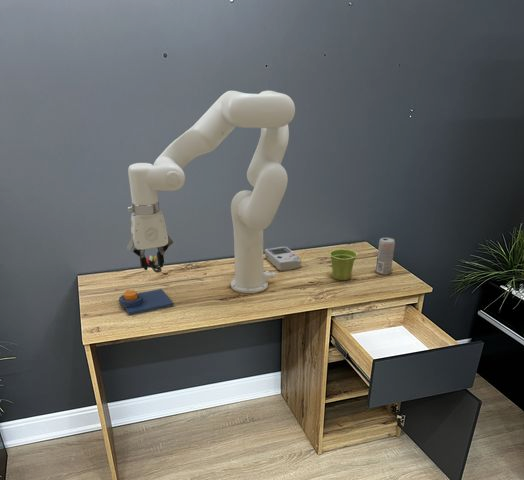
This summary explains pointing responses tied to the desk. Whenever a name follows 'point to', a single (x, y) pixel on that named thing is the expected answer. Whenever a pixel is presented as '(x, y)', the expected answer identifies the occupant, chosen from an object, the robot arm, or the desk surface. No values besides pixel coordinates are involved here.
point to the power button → (130, 295)
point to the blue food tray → (146, 302)
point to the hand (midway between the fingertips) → (152, 266)
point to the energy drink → (385, 256)
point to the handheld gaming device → (283, 258)
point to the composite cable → (153, 264)
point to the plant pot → (342, 263)
